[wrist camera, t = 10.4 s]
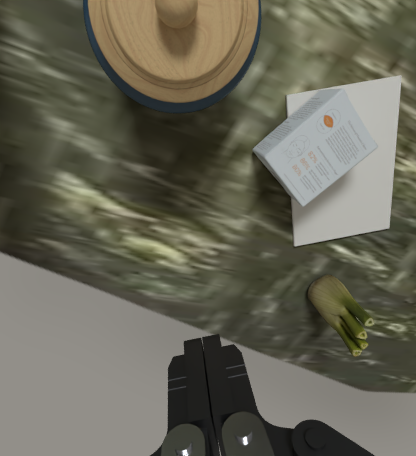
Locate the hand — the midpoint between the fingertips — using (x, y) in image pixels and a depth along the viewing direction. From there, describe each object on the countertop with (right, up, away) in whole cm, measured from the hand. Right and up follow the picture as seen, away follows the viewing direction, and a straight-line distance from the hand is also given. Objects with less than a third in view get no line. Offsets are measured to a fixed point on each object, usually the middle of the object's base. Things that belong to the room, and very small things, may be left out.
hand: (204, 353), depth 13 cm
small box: (+8, +11, +25) cm, 28 cm away
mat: (+18, +13, +28) cm, 36 cm away
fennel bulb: (+18, -4, +36) cm, 40 cm away
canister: (-4, +25, +21) cm, 33 cm away
